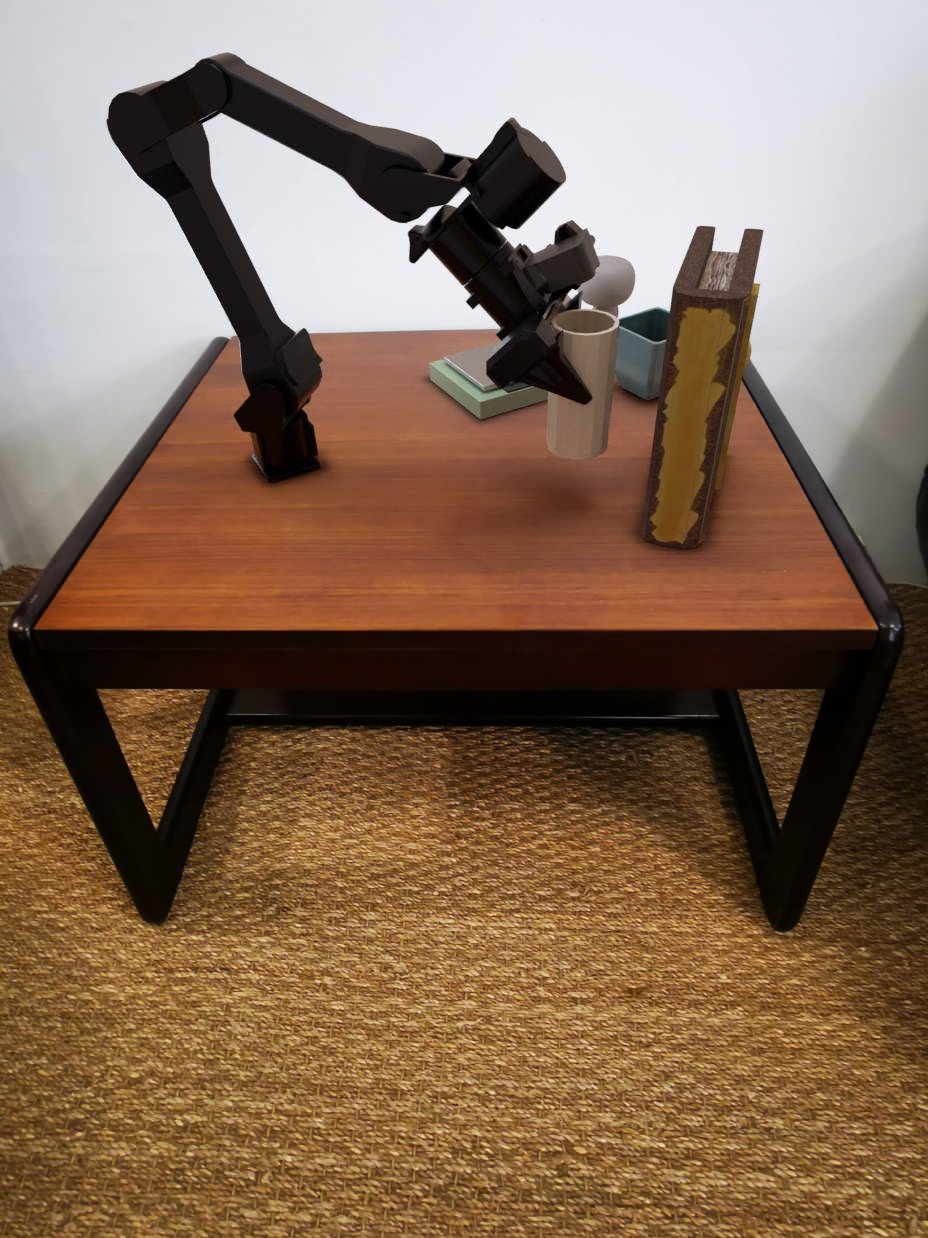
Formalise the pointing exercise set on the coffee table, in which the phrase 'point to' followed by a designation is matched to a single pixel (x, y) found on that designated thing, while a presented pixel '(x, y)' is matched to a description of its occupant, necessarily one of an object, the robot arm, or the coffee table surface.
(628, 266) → the figurine
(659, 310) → the flower pot
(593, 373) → the cup
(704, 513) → the book
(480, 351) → the scale pan
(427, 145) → the robot arm
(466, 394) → the scale
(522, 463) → the coffee table surface
